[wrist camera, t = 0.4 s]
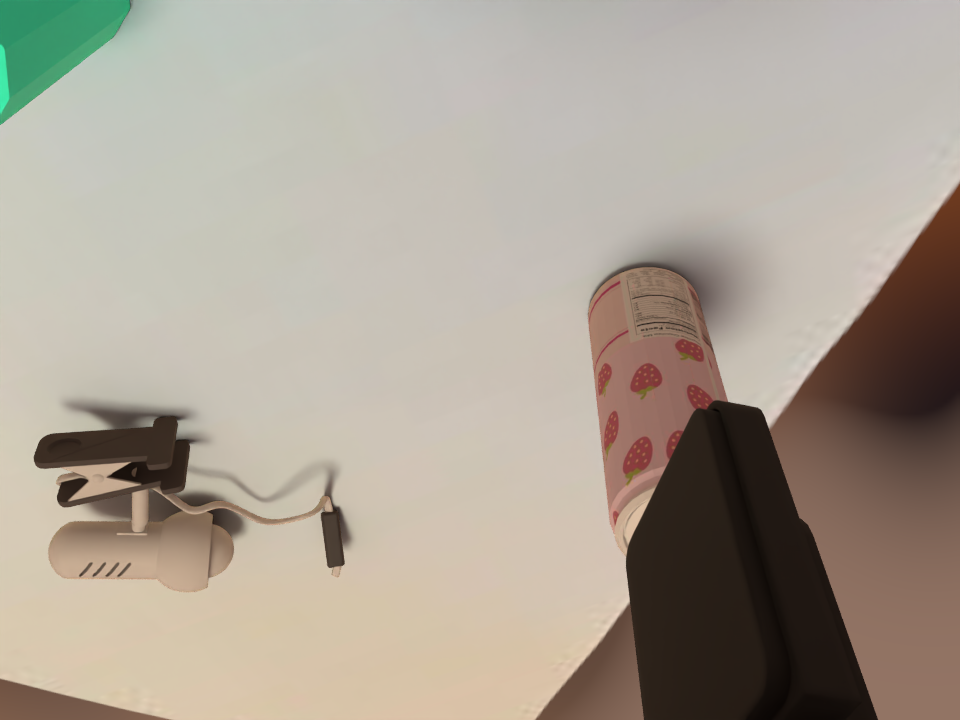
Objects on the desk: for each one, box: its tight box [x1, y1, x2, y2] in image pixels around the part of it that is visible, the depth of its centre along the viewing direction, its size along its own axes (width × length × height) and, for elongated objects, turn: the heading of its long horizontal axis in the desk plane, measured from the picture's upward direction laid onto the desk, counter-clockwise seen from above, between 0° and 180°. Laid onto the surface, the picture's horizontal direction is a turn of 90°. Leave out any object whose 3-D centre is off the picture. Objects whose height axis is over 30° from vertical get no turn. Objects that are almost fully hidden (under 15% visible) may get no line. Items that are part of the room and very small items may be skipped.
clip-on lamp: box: [34, 416, 345, 592], centre depth 51 cm, size 12×6×18 cm
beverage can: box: [588, 267, 728, 556], centre depth 37 cm, size 6×6×15 cm
